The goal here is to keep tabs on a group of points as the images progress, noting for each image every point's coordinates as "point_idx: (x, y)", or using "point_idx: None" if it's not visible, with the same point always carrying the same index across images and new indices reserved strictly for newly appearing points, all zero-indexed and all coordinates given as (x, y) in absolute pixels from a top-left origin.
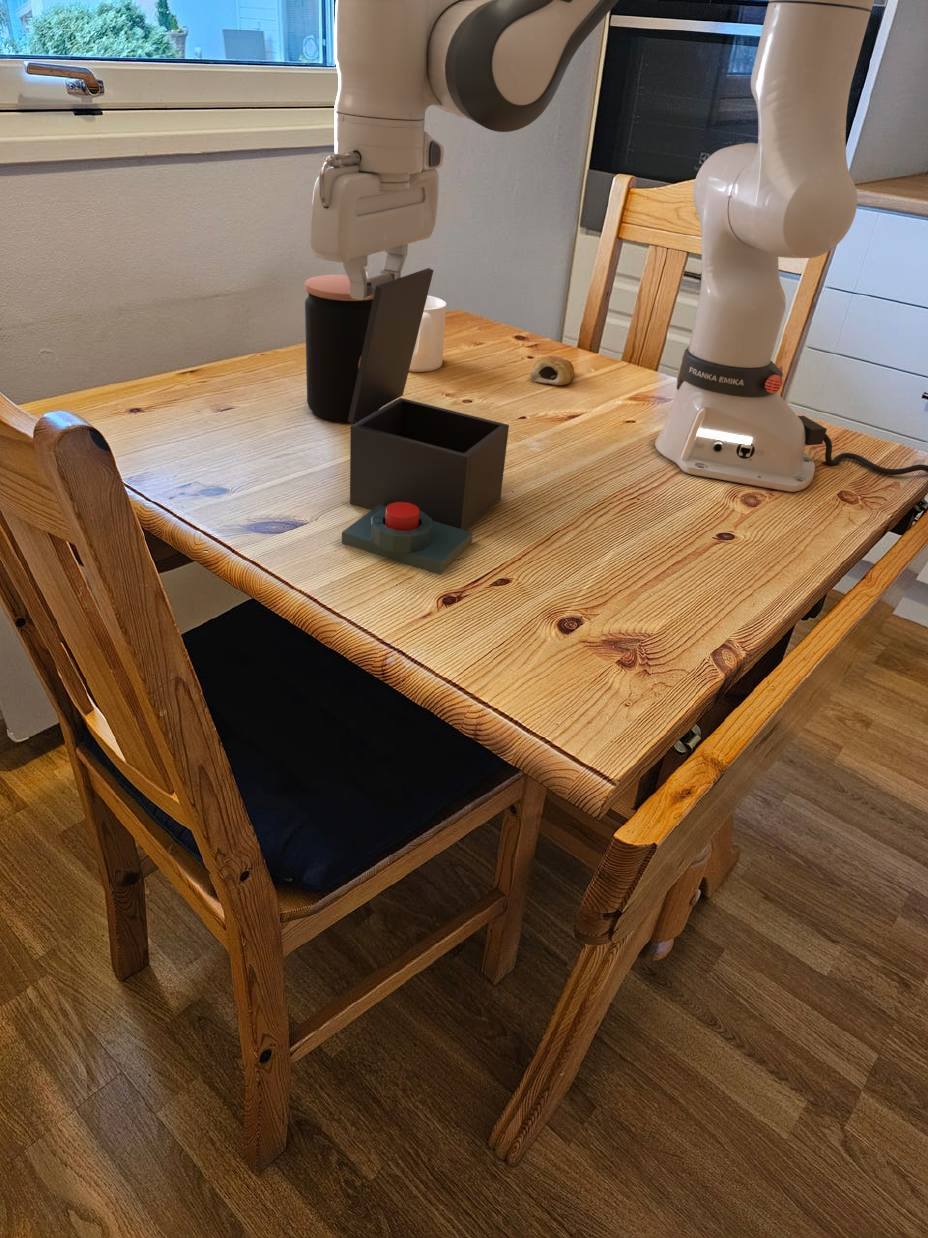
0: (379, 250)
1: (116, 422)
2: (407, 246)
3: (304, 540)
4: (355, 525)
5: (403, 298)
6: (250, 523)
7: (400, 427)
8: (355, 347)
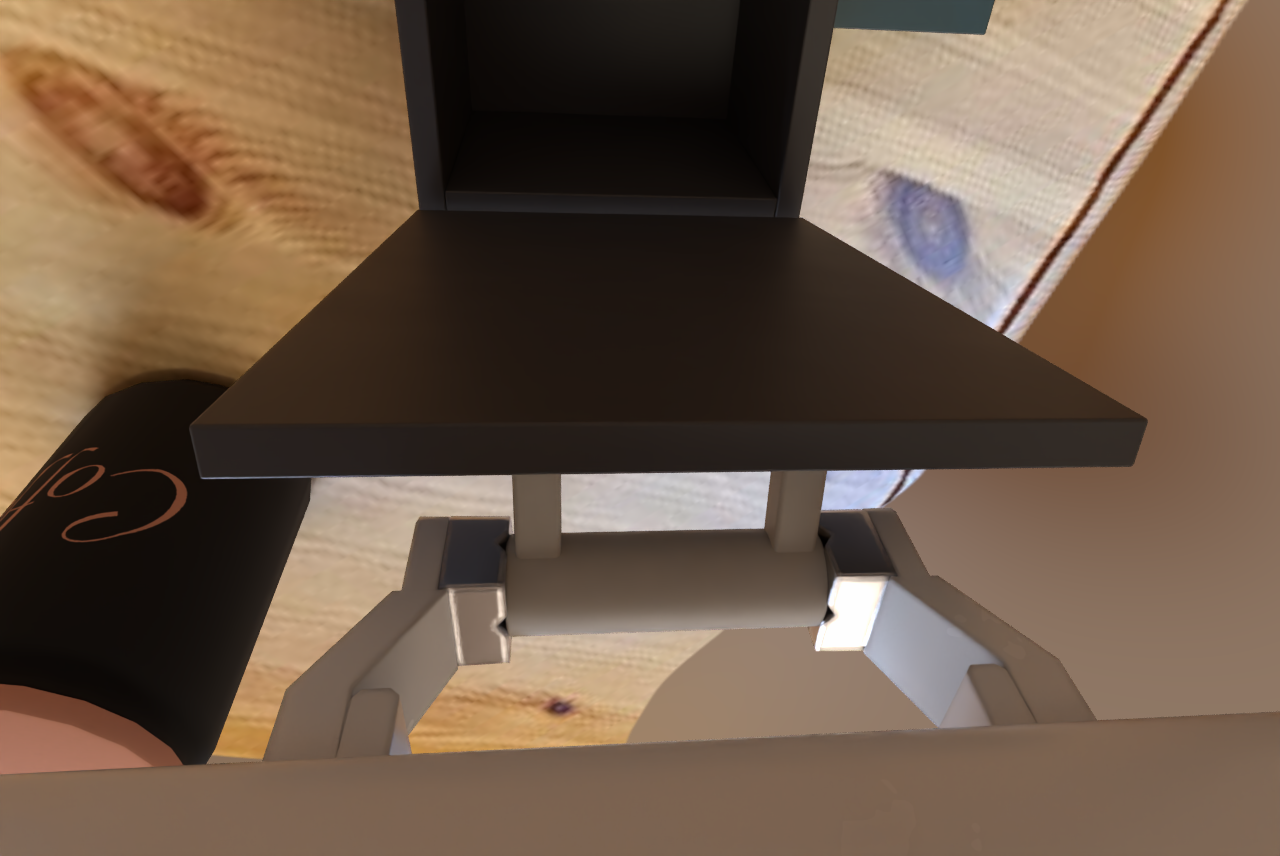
0: (927, 735)
1: (626, 696)
2: (273, 745)
3: (974, 128)
4: (936, 18)
5: (695, 361)
6: (930, 282)
7: (468, 155)
8: (170, 555)
